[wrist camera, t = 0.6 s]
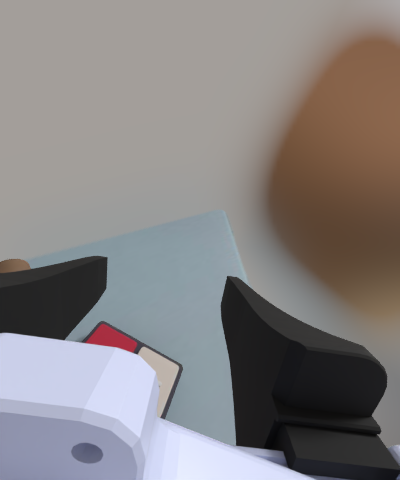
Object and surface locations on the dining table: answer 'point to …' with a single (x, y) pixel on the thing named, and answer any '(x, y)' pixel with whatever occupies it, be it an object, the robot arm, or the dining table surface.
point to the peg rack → (13, 265)
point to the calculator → (160, 363)
